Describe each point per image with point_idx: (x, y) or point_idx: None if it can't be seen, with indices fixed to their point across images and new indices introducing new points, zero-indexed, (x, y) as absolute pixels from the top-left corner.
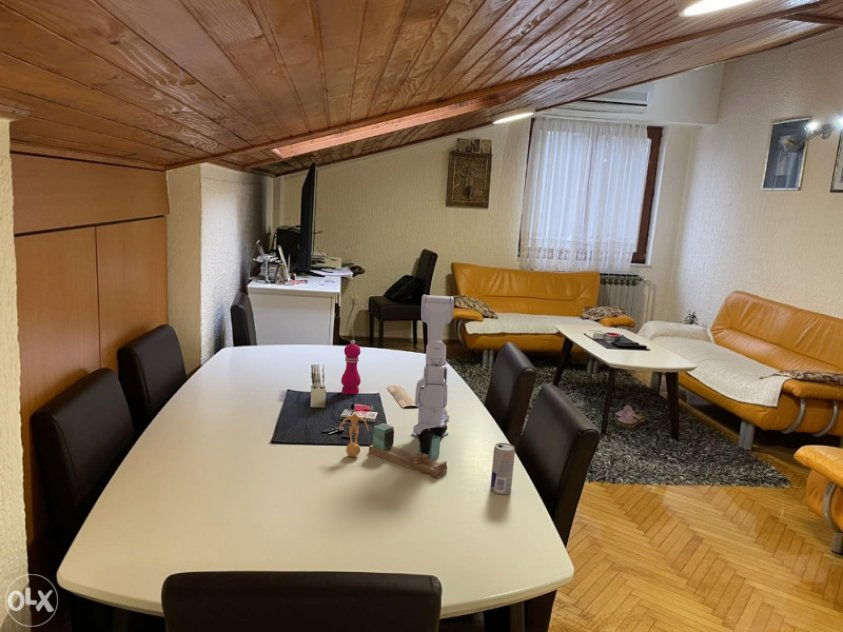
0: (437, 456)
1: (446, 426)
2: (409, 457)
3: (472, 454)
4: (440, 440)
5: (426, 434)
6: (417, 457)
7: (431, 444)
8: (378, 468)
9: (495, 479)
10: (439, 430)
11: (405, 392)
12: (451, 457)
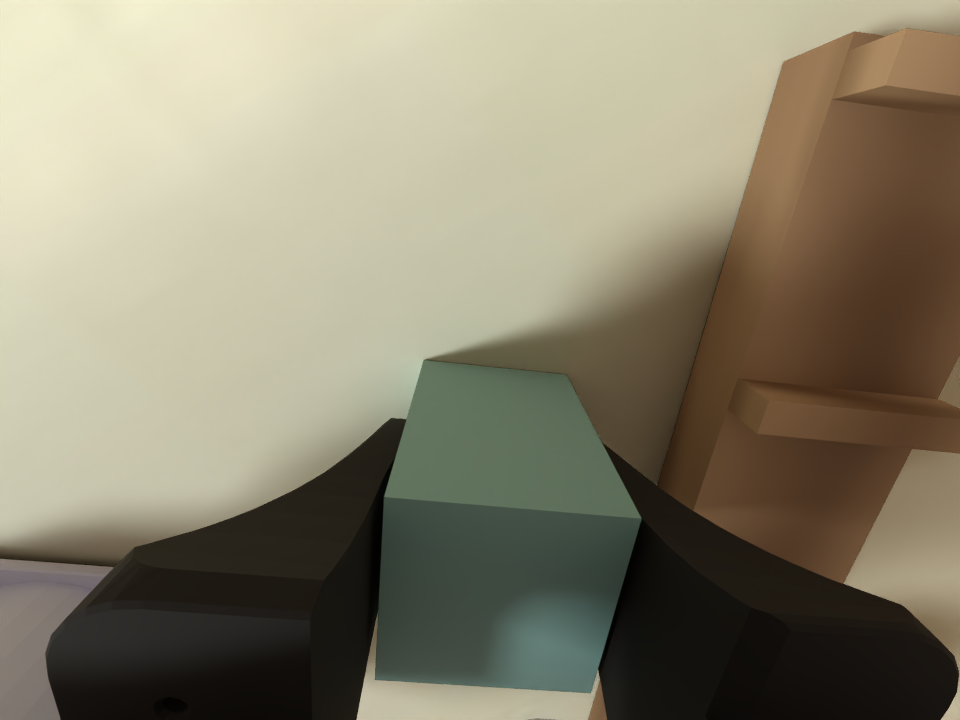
0: (450, 366)
1: (101, 631)
2: (799, 521)
3: (60, 64)
4: (356, 462)
5: (942, 706)
6: (916, 442)
7: (614, 480)
8: (938, 597)
9: None
10: (341, 628)
11: None
12: (348, 242)
